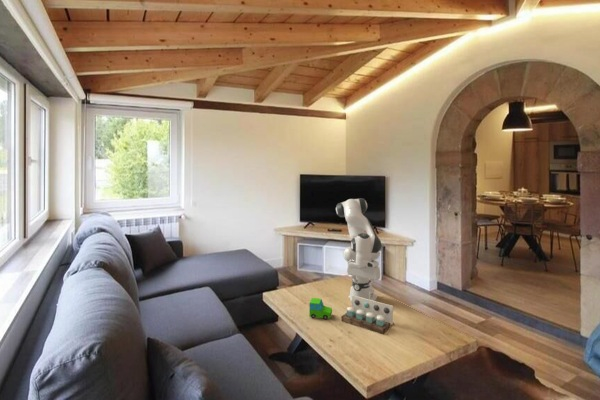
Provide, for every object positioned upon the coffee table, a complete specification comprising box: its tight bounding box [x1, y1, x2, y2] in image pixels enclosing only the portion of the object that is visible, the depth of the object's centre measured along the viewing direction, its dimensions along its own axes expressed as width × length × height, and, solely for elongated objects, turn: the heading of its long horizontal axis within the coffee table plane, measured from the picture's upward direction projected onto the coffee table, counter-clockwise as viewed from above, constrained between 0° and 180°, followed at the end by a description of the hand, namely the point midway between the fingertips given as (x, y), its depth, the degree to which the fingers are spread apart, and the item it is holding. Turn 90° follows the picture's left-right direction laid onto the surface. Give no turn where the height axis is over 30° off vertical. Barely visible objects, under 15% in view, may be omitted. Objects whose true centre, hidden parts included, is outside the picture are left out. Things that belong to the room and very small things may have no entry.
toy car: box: [308, 297, 333, 321], centre depth 216 cm, size 10×13×10 cm
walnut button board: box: [340, 312, 391, 335], centre depth 206 cm, size 10×27×3 cm, turn 53°
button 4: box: [376, 315, 385, 326], centre depth 200 cm, size 5×5×4 cm
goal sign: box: [351, 295, 395, 328], centre depth 213 cm, size 4×27×12 cm, turn 53°
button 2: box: [356, 309, 365, 320], centre depth 208 cm, size 5×5×4 cm
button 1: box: [346, 306, 355, 317], centre depth 212 cm, size 5×5×4 cm
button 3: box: [366, 312, 375, 323], centre depth 204 cm, size 5×5×4 cm
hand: (363, 284), depth 205 cm, fingers open, 8 cm apart
